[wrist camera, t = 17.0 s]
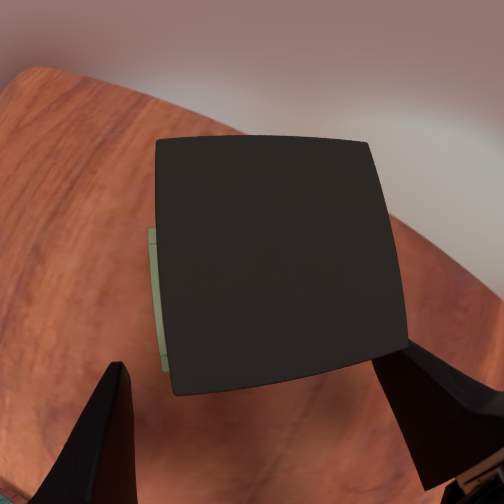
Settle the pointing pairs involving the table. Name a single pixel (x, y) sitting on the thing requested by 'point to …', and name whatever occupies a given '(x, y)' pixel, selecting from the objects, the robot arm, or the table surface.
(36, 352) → the table surface
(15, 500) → the puzzle game
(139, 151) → the table surface
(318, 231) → the tall black rectangular block
